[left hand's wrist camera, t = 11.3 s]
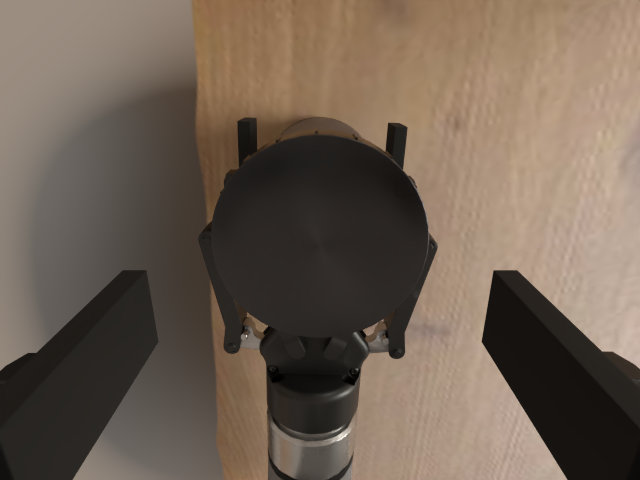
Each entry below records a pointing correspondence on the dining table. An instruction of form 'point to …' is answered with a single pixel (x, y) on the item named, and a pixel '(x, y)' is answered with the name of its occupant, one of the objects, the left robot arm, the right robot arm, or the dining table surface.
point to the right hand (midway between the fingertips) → (322, 122)
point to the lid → (320, 234)
